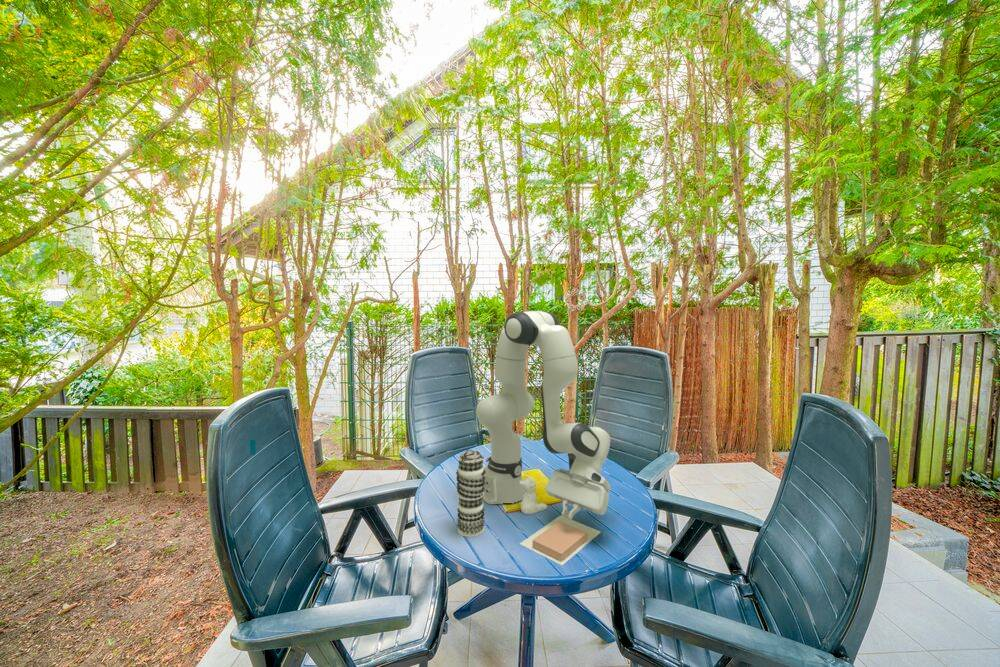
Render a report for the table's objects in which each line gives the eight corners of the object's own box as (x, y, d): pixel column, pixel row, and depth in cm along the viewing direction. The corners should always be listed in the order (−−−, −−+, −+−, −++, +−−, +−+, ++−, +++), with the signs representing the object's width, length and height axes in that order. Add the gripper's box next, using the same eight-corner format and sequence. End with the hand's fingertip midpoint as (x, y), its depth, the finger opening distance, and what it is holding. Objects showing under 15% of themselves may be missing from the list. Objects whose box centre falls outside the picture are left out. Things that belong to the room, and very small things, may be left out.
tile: (559, 527, 129) (532, 547, 118) (559, 521, 129) (532, 540, 118) (587, 540, 122) (561, 561, 112) (587, 532, 122) (561, 553, 112)
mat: (519, 545, 120) (519, 543, 120) (560, 517, 137) (560, 515, 136) (562, 567, 110) (562, 565, 110) (601, 533, 127) (601, 531, 127)
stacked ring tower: (470, 518, 135) (470, 445, 134) (491, 528, 129) (491, 452, 128) (450, 530, 128) (449, 453, 127) (471, 541, 122) (471, 460, 121)
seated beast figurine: (548, 509, 142) (548, 475, 141) (537, 520, 134) (537, 485, 134) (524, 502, 147) (524, 470, 146) (512, 513, 139) (512, 479, 138)
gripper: (552, 462, 134) (534, 501, 127) (609, 480, 120) (592, 525, 114) (559, 471, 137) (542, 510, 131) (616, 489, 124) (600, 533, 117)
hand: (566, 517), depth 122 cm, fingers closed
